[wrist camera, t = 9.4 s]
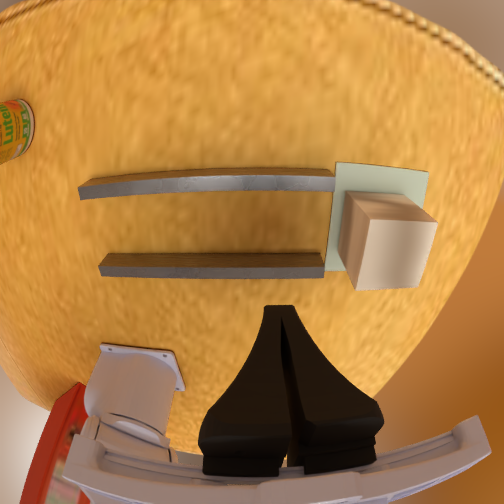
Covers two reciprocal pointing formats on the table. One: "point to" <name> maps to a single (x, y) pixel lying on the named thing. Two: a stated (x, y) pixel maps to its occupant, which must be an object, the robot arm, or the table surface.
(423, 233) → the block
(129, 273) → the parallel grey rails
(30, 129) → the supplement bottle
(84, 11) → the table surface
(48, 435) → the file binder
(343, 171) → the pad
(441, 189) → the table surface
